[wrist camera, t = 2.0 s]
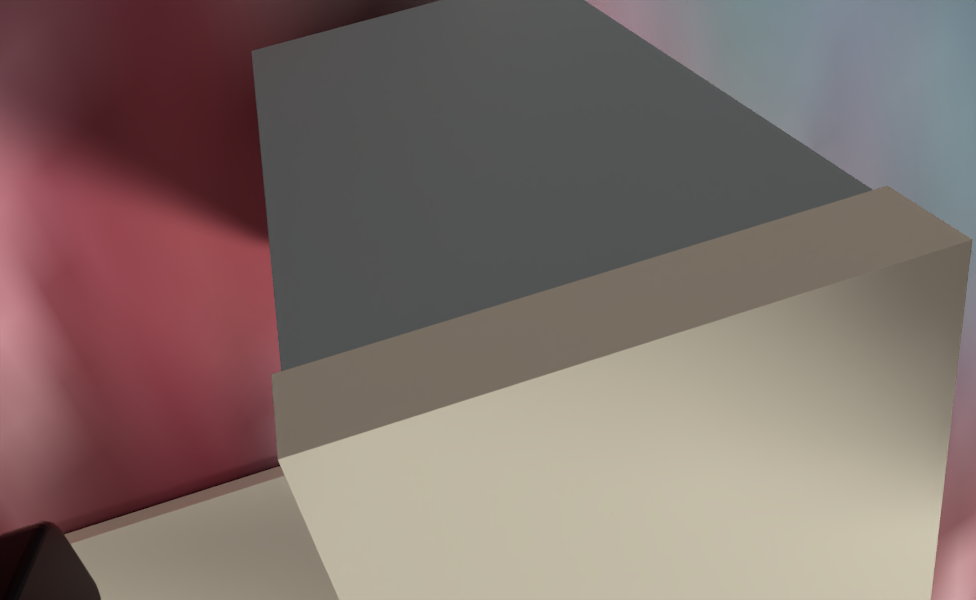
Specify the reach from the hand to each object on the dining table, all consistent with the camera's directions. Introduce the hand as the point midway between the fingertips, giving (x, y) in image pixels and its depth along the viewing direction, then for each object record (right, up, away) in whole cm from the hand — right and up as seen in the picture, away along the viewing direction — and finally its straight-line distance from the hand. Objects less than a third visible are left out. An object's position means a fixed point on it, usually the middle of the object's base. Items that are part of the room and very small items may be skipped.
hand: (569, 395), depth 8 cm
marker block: (-2, +4, +6) cm, 7 cm away
